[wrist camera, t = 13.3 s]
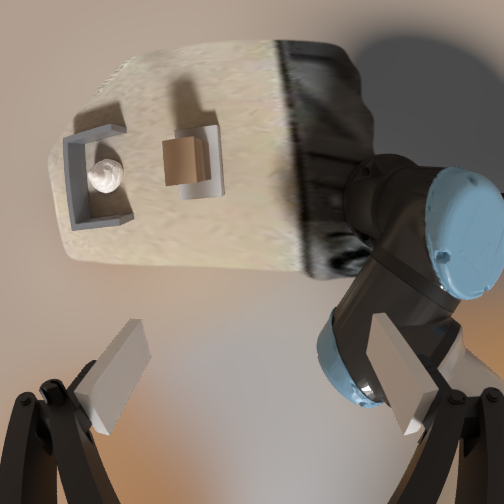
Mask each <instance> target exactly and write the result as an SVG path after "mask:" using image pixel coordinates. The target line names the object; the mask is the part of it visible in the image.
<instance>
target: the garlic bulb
mask: <svg viewBox="0 0 504 504" xmlns="http://www.w3.org/2000/svg"><path fill="white" fill-rule="evenodd" d="M88 177H89V180H90V182H91V184H92V185H93V187H94V188H96V189H97V190H98V191H100V192H103V193H109V192H112V191H114V190H115V189H116V188H117V187H118V185H119V184H120V182H121V180H122V177H123V169H122V166H121V164H120V163H118V162H116V161H115V160H111V159H103V160H102V161H99V162H98V163H96V164H95V165H94V166H93V167H92V168H91V170H90V172H88Z"/></svg>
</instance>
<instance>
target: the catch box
mask: <svg viewBox="0 0 504 504" xmlns="http://www.w3.org/2000/svg"><path fill="white" fill-rule="evenodd" d="M125 133H126V127H123V126H119V125H115V124H108V125H104V126H100V127H97V128H93V129H90V130H87V131H84V132H80V133H77V134H74V135H71V136H68V137H65V138H63V156H64V171H65V182H66V192H67V201H68V208H69V215H70V222H71V228H72V231H76V230H84V229H93V228H102V227H111V226H120V225H122V224H124V223H127V222H129V221H131V220H133V219H134V215H133V213H129V214H120V215H112V216H105V217H97V218H92V217H91V210H90V202H89V194H88V185H87V174H86V161H85V144H86V143H89V142H93V141H97V140H100V139H104V138H108V137H112V136H116V135H120V134H125Z"/></svg>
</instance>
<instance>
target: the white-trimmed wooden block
mask: <svg viewBox="0 0 504 504" xmlns="http://www.w3.org/2000/svg"><path fill="white" fill-rule="evenodd" d="M162 144H163V159H164V171H165V183H166V186H171V185H179V195H180V200H189V199H200V198H211V197H222V196H224V195H225V190H224V177H223V164H222V150H221V135H220V127H219V126H218V125H211V126H203V127H195V128H188V129H181V130H175V139H172V140H165V141H162Z"/></svg>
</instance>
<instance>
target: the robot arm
mask: <svg viewBox="0 0 504 504" xmlns="http://www.w3.org/2000/svg"><path fill="white" fill-rule="evenodd" d="M343 210H344V215H345V218H346V221H347V224H348V226H349V228H350V229H351V231H352V232H353V234H354V235H355V236H356V237H357V238H358V239H359V240H360V241H362V242H363V243H364V244H365V245H367V246H368V247H370V248H372V249H373V251H372V252H371V254H370V255H369V257H368V259H367V260H366V262H365V264H364V265H363V267H362V268H361V270H360V272H359V273H358V275H357V277H356V278H355V280H354V281H353V283H352V285H351V286H350V288H349V289H348V291H347V292H346V294H345V295H344V297H343V298H342V300H341V301H340V303H339V304H338V306H337V307H335V308H334V309H333V310H332V312H331V314H330V318H329V320H328V321H327V323H326V324H325V326H324V328H323V329H322V331H321V333H320V334H319V337H318V340H317V353H318V360H319V363H320V366H321V368H322V370H323V372H324V374H325V375H326V377H327V379H328V380H329V381H330V383H331V384H332V385H333V386H334V388H335V389H336V390H337V391H338V392H339V393H340V394H341V395H342V396H344V397H345V398H346V399H348V400H349V401H351V402H352V403H354V404H358V403H359V404H360V406H361V407H365V408H373V407H376V406H379V405H381V404H382V403H383V402H385V403H386V404H387V405H388V406H390V407H391V408H392V410H393V412H394V414H395V416H396V419H397V421H398V423H399V426H400V428H401V431H402V433H403V435H407V434H410V433H414V432H417V431H418V430H419V428H420V427H421V425H422V423H423V425H424V427H425V431H424V432H423V434H422V436H421V438H420V439H419V441H418V443H419V444H418V446H417V449H416V451H415V453H414V455H413V458H412V459H411V461H410V464H409V465H408V467H407V470H406V471H405V474H404V475H403V477H402V479H401V481H400V483H399V485H398V486H397V488H396V490H395V492H394V493H393V495H392V497H391V498H390V500H389V502H388V503H387V504H436V503H437V501H438V498H439V496H440V494H441V491H442V489H443V486H444V484H445V481H446V479H447V476H448V473H449V471H450V468H451V465H452V462H453V459H454V455H455V452H456V449H457V446H458V445H459V465H458V479H457V489H456V498H455V504H504V380H503V379H502V378H501V377H500V376H499V375H498V374H496V372H494V371H493V370H492V369H491V368H490V367H488V366H487V365H486V364H485V363H484V362H483V361H482V360H480V359H479V358H478V357H477V356H475V355H474V354H473V353H472V352H471V351H470V350H468V349H467V348H466V346H465V345H464V336H463V327H462V326H461V325H460V324H459V323H458V322H457V321H455V320H454V319H453V318H452V317H451V315H452V314H453V313H454V311H455V309H456V308H457V306H458V305H459V303H460V301H461V300H462V299H464V300H465V299H467V300H471V299H475V298H478V297H480V296H482V295H483V292H484V290H485V291H488V290H489V289H490V288H492V286H493V285H494V284H495V282H496V281H497V279H498V278H499V276H500V274H501V272H502V269H503V267H504V199H503V197H502V195H501V193H500V192H499V190H498V189H497V187H496V186H495V185H494V184H493V182H492V181H490V180H489V179H488V178H487V177H485V176H484V175H482V174H479V173H477V172H473V171H469V170H465V169H463V168H459V167H455V166H454V167H426V166H425V167H424V166H418V165H417V164H415V163H414V162H413V161H411V160H410V159H408V158H406V157H403V156H400V155H397V154H379V155H374V156H371V157H369V158H367V159H365V160H364V161H362V162H361V163H360V164H359V165H358V166H357V167H356V168H355V169H354V170H353V171H352V173H351V174H350V176H349V178H348V180H347V183H346V186H345V189H344V194H343ZM150 359H151V354H150V350H149V347H148V343H147V339H146V336H145V332H144V328H143V324H142V320H139V319H130V320H129V321H128V322H127V324H126V325H125V326H124V327H123V328H122V330H121V331H120V332H119V334H118V335H117V336H116V337H115V339H114V340H113V341H112V342H111V343H110V345H109V346H108V347H107V349H106V350H105V351H104V353H103V354H102V355H101V356H100V357H99V359H98V360H92V361H91V362H89V363H88V364H87V365H85V367H84V368H83V369H82V370H81V372H80V373H79V374H78V377H76V378H75V379H74V381H73V382H72V383H71V385H70V386H69V387H68V389H67V390H66V389H65V387H64V385H63V383H62V381H60V380H58V379H51V380H48V381H46V382H44V383H43V384H42V385H41V387H40V390H39V391H40V393H41V395H42V397H43V398H44V400H37V398H36V397H35V395H34V394H33V393H31V392H24V393H22V394H20V395H19V396H18V397H17V398H16V400H15V403H14V407H13V410H12V414H11V417H10V421H9V425H8V429H7V433H6V437H5V442H4V447H3V452H2V457H1V463H0V504H57V466H58V471H59V474H60V478H61V482H62V485H63V489H64V492H65V496H66V499H67V502H68V504H121V503H120V501H119V499H118V498H117V495H116V493H115V491H114V489H113V487H112V485H111V483H110V480H109V478H108V476H107V473H106V471H105V468H104V466H103V463H102V461H101V458H100V456H99V453H98V450H97V447H96V445H95V442H94V439H93V436H92V433H91V432H90V430H89V429H90V427H91V425H93V426H94V428H95V430H96V431H97V432H99V433H102V434H106V435H110V434H111V432H112V430H113V429H114V427H115V425H116V423H117V421H118V419H119V417H120V415H121V413H122V411H123V409H124V407H125V405H126V404H127V402H128V400H129V398H130V396H131V394H132V392H133V390H134V388H135V387H136V385H137V383H138V381H139V379H140V377H141V375H142V373H143V372H144V370H145V368H146V366H147V365H148V363H149V361H150Z"/></svg>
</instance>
